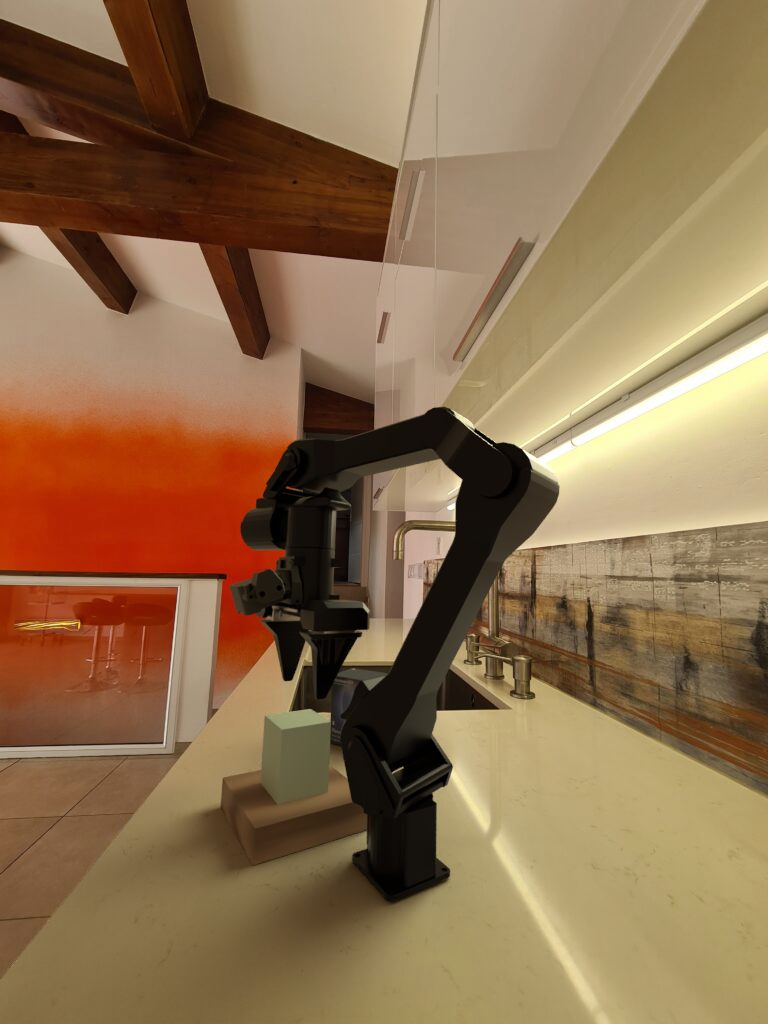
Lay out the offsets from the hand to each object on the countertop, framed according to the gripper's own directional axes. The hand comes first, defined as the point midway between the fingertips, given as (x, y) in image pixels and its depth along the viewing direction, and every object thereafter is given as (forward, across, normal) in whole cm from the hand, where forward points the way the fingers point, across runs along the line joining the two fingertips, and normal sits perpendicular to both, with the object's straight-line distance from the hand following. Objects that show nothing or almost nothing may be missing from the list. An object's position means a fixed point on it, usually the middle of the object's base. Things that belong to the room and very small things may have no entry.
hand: (302, 689), depth 51 cm
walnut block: (+13, 0, 0) cm, 13 cm away
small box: (+13, -15, +18) cm, 27 cm away
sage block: (+10, 0, -1) cm, 10 cm away
